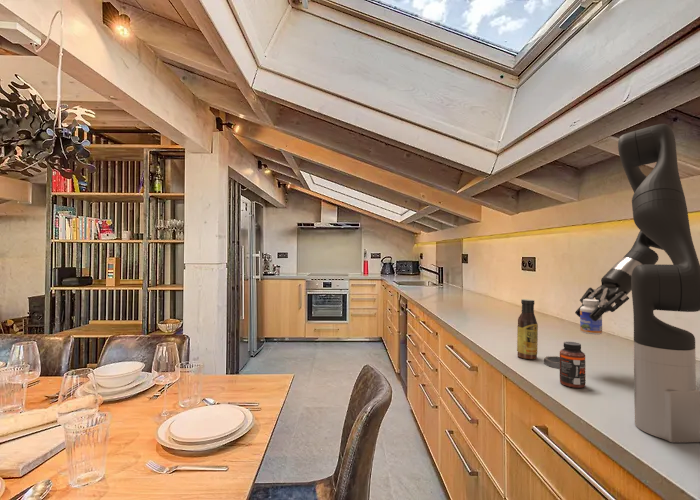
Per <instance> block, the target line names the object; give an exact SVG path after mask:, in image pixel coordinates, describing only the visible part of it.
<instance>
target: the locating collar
mask: <svg viewBox="0 0 700 500" xmlns="http://www.w3.org/2000/svg"><path fill="white" fill-rule="evenodd" d="M543 364H544V365H546V366H548V367H551V368H555V369H559V370H560V356H556V355H555V356H554V355H553V356H551V355H550V356H549V355H548V356H546V357H545V356H544V358H543Z"/></svg>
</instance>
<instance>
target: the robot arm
mask: <svg viewBox="0 0 700 500" xmlns="http://www.w3.org/2000/svg"><path fill="white" fill-rule="evenodd" d="M617 148H618V155H619V159H620V163H621V164H622V165H621V166H622V168H623V170H624V172H625V175H626V177H627V180H628V182H629V185H630V187H631V189H632V192H633V195H632V197H631V207H632V217H633V222H634V224H635V226H636V227H637V229H638V230H639V232H638V235H637V236H636V239H635V241H634V242H633V245H632V246H631V248H630V249H629V250H628V252H627V253H626V254H625V255H623V257H621V259H619V260H618V261H617V262H616V263H615V264H614V265H613V266H612V267H611V268H610V269H609V270H608V271H607V272H606V273H605V274H604V275H603V276H602V277H601V278H600V280H601V281H600V282H601V285H600V286H598V287H597V288H595V289H594V288H593V287H588V288H587V290H586V291H585V293H584V294H583V295H582V297H581V298H580V299H579V302H580V303H581V305H580V306H579V307H578V308H577V309H576V311H575V315H577V317H579V318H580V308H581V307H582V306H584V304H583V299H593V300H599V305H598V307H597V308H596V309H595V310H594V311H593V312H592V313H591V314H590V315H589V317H590V318H591V319H592V320H593V321H597V320H598V319H599V318H600V317H601V316H602V317H603V315H604V314H605V313H608V312H610V313H614V312H615V311H616V310H617V309H619V308H620V307H621V306H622V305H623V304H625V303H626V302H627V301H628V300H630V297H629V296H628V295H629V293H630V292H631V297H632V311H633V383H634V384H633V385H634V386H633V387H634V388H633V391H634V392H633V393H634V394H633V395H634V397H633V399H634V424H635V427H636V428H638V429H639V430H640V431H643V433H647V434H649V435H650V436H655V437H656V438H660V439H663V440H665V441H667V442H669V443H700V390H699V389H697V377H696V375H697V374H696V372H697V369H696V362H697V361H696V337H695V335H694V334H693V333H692V332H690V331H688V330H686V329H683V328H680V327H677V326H674V325H671V324H669V323H667V322H665V321H662V320H661V319H659V318H658V317H657V316H655V314H654V311H665V312H666V311H667V312H681V313H682V312H683V313H689V312H690V313H695V312H696V313H697V312H700V261H699V258H698V255H697V251H696V249H695V246H694V241H693V238H692V232H691V227H690V226H691V225H690V219H689V212H688V211H689V210H688V206H687V200H686V197H685V193H684V189H683V184H682V180H681V178H680V173H679V166H678V156H677V155H678V154H677V144H676V137H675V132H674V130H673V129H672V127H671V126H670V125H669V124H666V123H658V124H655V125H651V126H648V127H643V128H641V129H636V130H633V131H630V132H626V133H624V134H621V135H620V136H619V137H618V141H617ZM654 163H655V165H654V167H653V169H652V170H651V171H650V172H649V174H648V175H645V173H644V172H643V171H642V170H641V166H645V165H651V164H654ZM652 248H654V249H659V250H663V251H664V253H666V255H667V256H668V257H669V259H670V261H671V262H672V264H657V263H658V262H659V254H658V253H657V252H656V251H654V249H652Z"/></svg>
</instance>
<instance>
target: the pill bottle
mask: <svg viewBox="0 0 700 500" xmlns="http://www.w3.org/2000/svg"><path fill="white" fill-rule="evenodd" d="M583 304H584V306H582V307H581V308H580V317H579V327H580V330H579V331H580V332H581V333H583V334H586V335H595V336H596V335H602V334H603V315H602V316H601V317H600V318H599V319H598V320H597V321H593V320H592V319H591V318H590V317H589V315H590V314H591V313H592V312H593V311H594V310H595V309H596V308H597V307H599V300H596V299H594V300H593V299H583Z"/></svg>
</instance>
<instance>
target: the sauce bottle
mask: <svg viewBox="0 0 700 500" xmlns="http://www.w3.org/2000/svg"><path fill="white" fill-rule="evenodd" d="M516 328H517V333H516V334H517V337H516V338H517V340H516V342H517V343H516V344H517V345H516V346H517V347H516V351H517V354H516V355H517V357H518V358H520V359H524V360H535V359H537V358H538V340H539V339H538V338H539V336H538V335H539V334H538V332H539V331H538V330H539V329H538V328H539V324H538V321H537V318H536V316H535V300H534V299H529V298H528V299H527V298H526V299H521V314H519V316H518V318H517V327H516Z"/></svg>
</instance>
